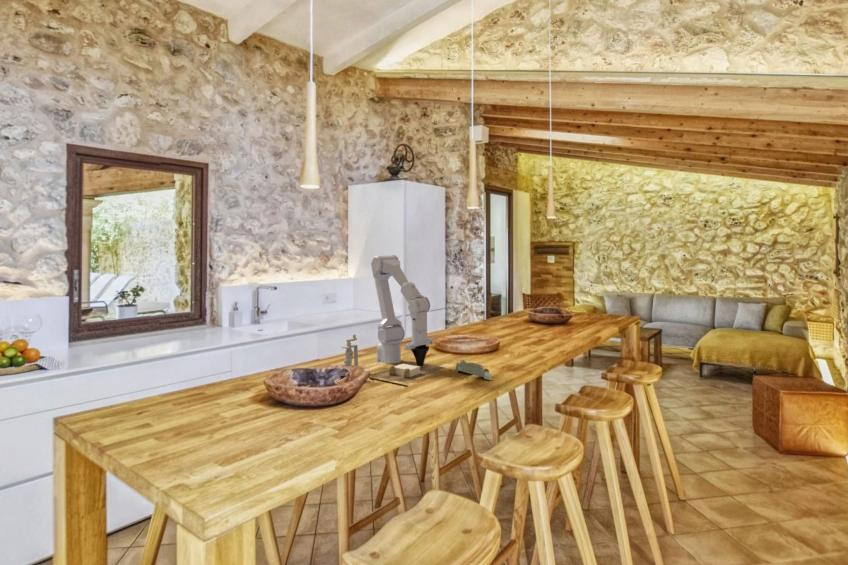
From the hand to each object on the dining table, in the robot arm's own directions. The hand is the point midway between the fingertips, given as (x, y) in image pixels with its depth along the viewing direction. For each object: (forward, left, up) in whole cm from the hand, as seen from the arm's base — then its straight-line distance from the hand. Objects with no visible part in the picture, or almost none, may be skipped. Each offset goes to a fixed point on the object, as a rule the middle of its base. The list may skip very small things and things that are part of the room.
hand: (420, 365), depth 183 cm
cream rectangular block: (0, -8, -1) cm, 8 cm away
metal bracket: (+18, +9, -3) cm, 20 cm away
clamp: (-19, -19, -3) cm, 27 cm away
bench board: (-1, -5, -3) cm, 6 cm away
